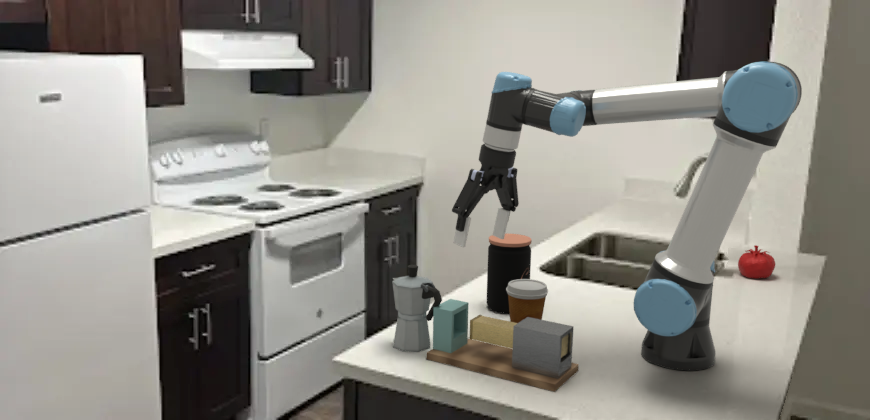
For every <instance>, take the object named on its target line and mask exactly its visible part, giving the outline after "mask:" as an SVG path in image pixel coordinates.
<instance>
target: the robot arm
mask: <svg viewBox="0 0 870 420" xmlns="http://www.w3.org/2000/svg"><path fill="white" fill-rule="evenodd" d="M532 83H533V80H532V78H531V77H530V76H528V75H525V74H520V73H517V72H512V71H501V72H499V73H497V74H496V77H495V81H494V83H493V87H492V90H491V93H490V94H491V96H490V102H489V107H488V112H487V117H486V118H487V119H486V120H485V121H486V122H485V126H484V127H485V128H484V133H483V137H482V142H483V143H482V144H481V146H480V150H479V155H478V162H479V163H480V164H481V166H480V169H479V170H477V169H475V168H471V169H470V170H469V173H468V175H467V179H466V181H465V183H464V185H463V187H462V189H461V191H460V192H459V195H458V197H457V199H456V200H455V202H454V204H453V207H452V209H451V212H452V213H453V214H456V215H457V219H456V224H455V234H454V238H453V244H455V245H457V246H460V247H462V248H465V247H466V244H467V241H468V240H467V239H468V234H469V231H470V225H471V221H472V217H470V215H471V214H472V212H473V211H474V210H475V208H476V206H477V205H478V204H479V203H480V201H481V200H482V198H483V197H484V196H485V195H486V194H488V193H489V191H494V190H495V192H496V196H497V198H498V200H499V203H500V206H501V207H498V208H497V212H496V217H495V218H496V219H495V221H494V227H493V231H492V235H493V236H495V237H498V238H500V239H504V236H505V234H506V231H507V228H508V227H507V226H508V222H509V221H510V220H509V219H510V214H511V212H512V213H513V212H514V213H515V212H516V210H517V207H519V203H520V202H519V191H518V183H517V181H518V180H517V175H518V168H516V167H514V165H515V161H516V157H517V152H516V150H517V149H518V148H519V143H520V138H521V133H522V130H523V125H524V126H529V127H533V128H537V129H540V130H543V131H547V132H550V133H553V134H556V135H558V136H566V137H570V138H571V137H575V136H577V135H578V134H579V132H580V131H581V130H582V128H583V127H589V126H590V127H591V126H598V125H600V126H601V125H613V124H627V123H640V122H653V121H655V122H656V121H667V120H668V121H669V120H681V119H694V118H708V117H715V119H714V121H713V123H712V127H713V129H714V131H715V133H716V137H715V140H714V142H713V144H712V146H711V149H710V151H709V153H708V155H707V157H706V159H705V162H704V165H703V167H702V169H701V171H700V174H699V175H698V179H697V181H696V183H695V186H694V188H693V190H692V192H691V194H690V197H689V198H688V200H687V204H686V206H685V208H684V210H683V212H682V215H681V217H680V219H679V221H678V224H677V226H676V228H675V231H674V233H673V235H672V238H671V240H670V242H669V245H668V247H667V249H665V250H661V251H659V252H658V253H656V254H655V256H654V259H653V261H652V263H651V265H650V267H649V270H648V272H647V275H646V277H645V279H644V281H643V282H642V283H641V284H640V286H639V287H638V288H637V289H636V290H635V291H636V292H635V293H634V298H633V311H634V314H635V316H636V318H637V320H638V321H639V323H640V324H641V325H642V326H643V327H644V328H645V329H646V330H647V331H646V333H645V335H644V337H643V339H642V343H641V351H640V353H641V357H642V358H644V360H646V361H648V362H650V363H651V364H653V365H656V366H659V367H662V368H666V369H672V370H677V371H701V370H706V369H708V368H709V369H710V367H713V366H714V365H715V363H716V348H715V345H714V344H715V343H714V340H713V336H712V332H711V329H710V323H711V322H710V321H711V310H712V300H713V288H714V281H715V277H714V276H715V274H716V269H715V258H716V256H717V255H718V252H719V250H720V248H721V246H722V244H723V242H724V239H725V237H726V235H727V232H728V230H729V228H730V226H731V223H732V222H733V219H734V217H735V216H736V213H737V211H738V208H739V207H740V204H741V202H742V200H743V198H744V197H745V194H746V191H747V189H748V187H749V185H750V182H751V180H752V179H753V176H754V174H755V172H756V170H757V168H758V165H760V161H761V159H762V157H763V155H764V154H765V153H766V152H768V151H771V150H774V149H776V148H777V146H778V145H779V142H780V140H781V138H782V135H783V133H784V131H785V129H786V127H787V124H788V123H789V120H790V118H791V117H792V115H793V113H795V111H796V110H797V108H798V106H799V105H800V102H801V100H802V99H801V98H802V92H803V91H802V89H803V88H802V84H801V81H800V78H799V76H798V75H797V74H796V72H795V71H794V70H793V69H792V68H790V67H789V66H787V65H785V64H784V63H780V62H777V61H755V62H751V63H748V64H746V65H744V66H742V67H741V68H739V69H735V70H726V71H724V72H723V73H722V74H721V75H720V76H719V77H718V76H717V77H716V76H715V77H708V78H707V77H706V78H697V79H686V80H678V81H667V82H666V81H665V82H656V83H647V84H637V85H626V86H618V87H617V86H616V87H607V88H598V89H597V88H596V89H586V90H583V89H582V90H580V89H579V90H572V91H568V92H562V93H553V92H548V91H544V90H540V89H536V88H534V87H533V84H532Z"/></svg>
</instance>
